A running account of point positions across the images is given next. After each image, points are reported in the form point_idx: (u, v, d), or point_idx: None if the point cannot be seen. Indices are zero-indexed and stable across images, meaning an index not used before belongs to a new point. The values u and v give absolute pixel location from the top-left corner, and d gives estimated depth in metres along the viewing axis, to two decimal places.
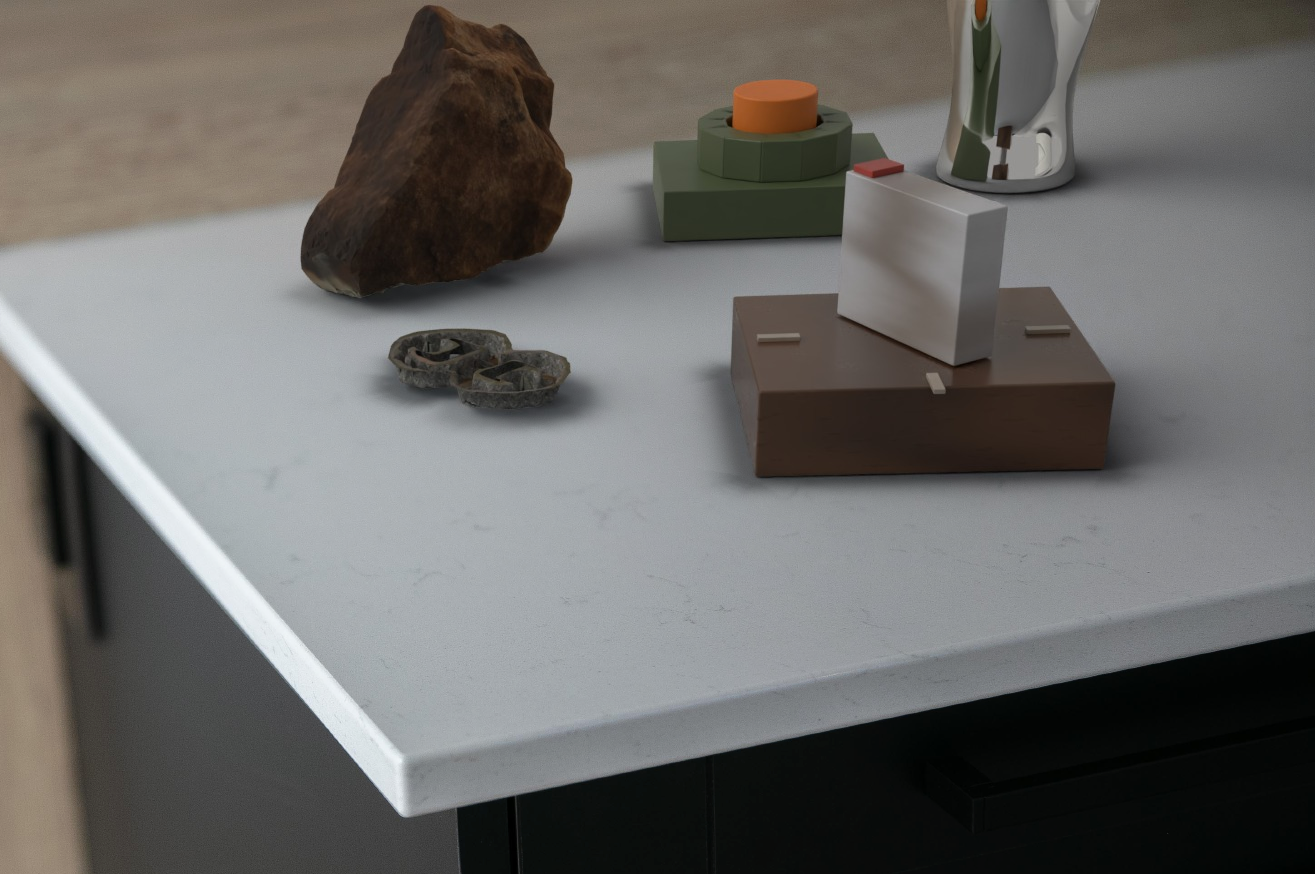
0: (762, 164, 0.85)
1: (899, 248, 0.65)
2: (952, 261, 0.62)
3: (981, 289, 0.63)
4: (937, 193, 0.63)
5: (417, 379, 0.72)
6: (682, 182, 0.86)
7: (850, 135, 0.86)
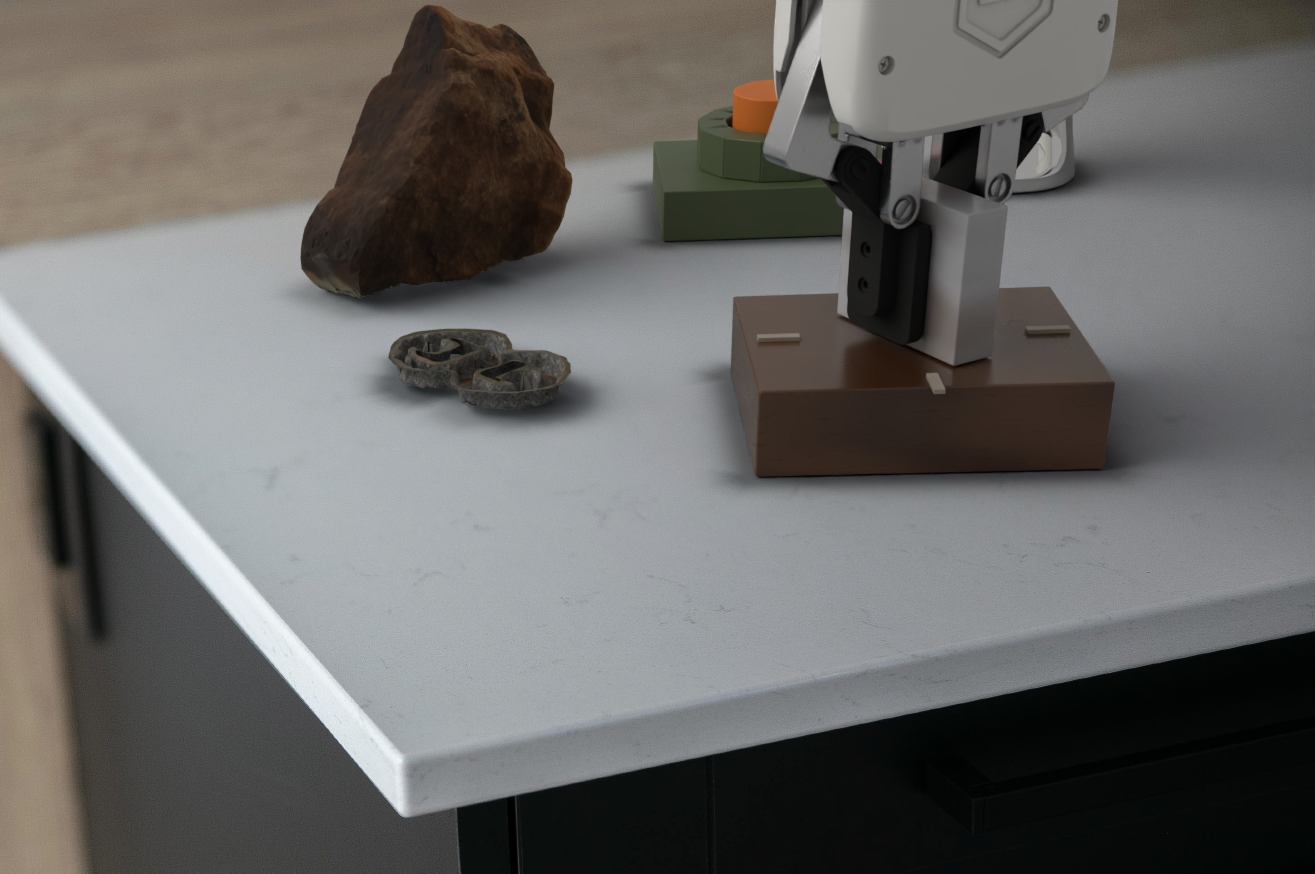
0: (762, 164, 0.85)
1: None
2: (952, 261, 0.62)
3: (981, 289, 0.63)
4: (937, 193, 0.63)
5: (417, 379, 0.72)
6: (682, 182, 0.86)
7: None
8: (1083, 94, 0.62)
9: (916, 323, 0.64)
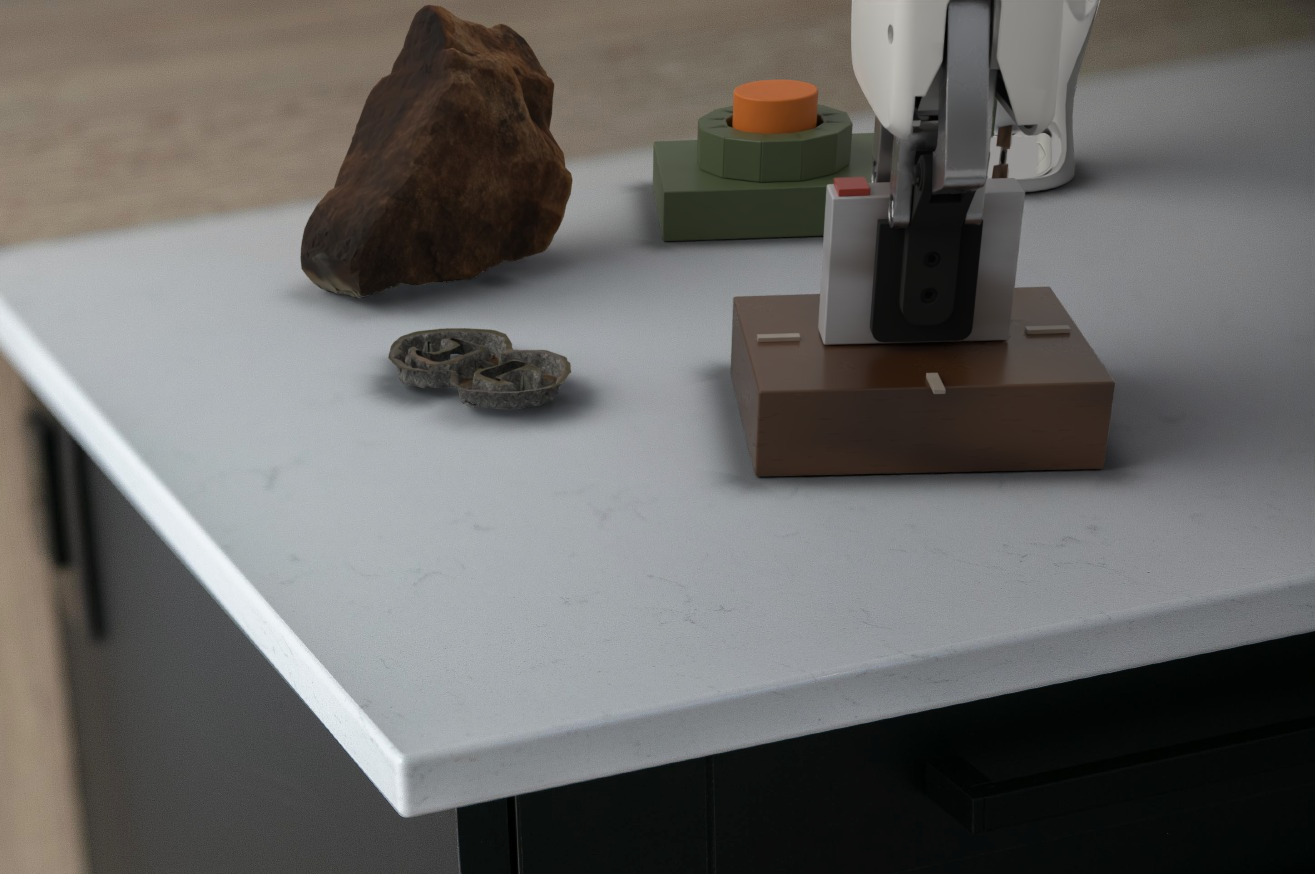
0: (762, 164, 0.85)
1: None
2: (1003, 242, 0.64)
3: None
4: None
5: (417, 379, 0.72)
6: (682, 182, 0.86)
7: (850, 135, 0.86)
8: None
9: None
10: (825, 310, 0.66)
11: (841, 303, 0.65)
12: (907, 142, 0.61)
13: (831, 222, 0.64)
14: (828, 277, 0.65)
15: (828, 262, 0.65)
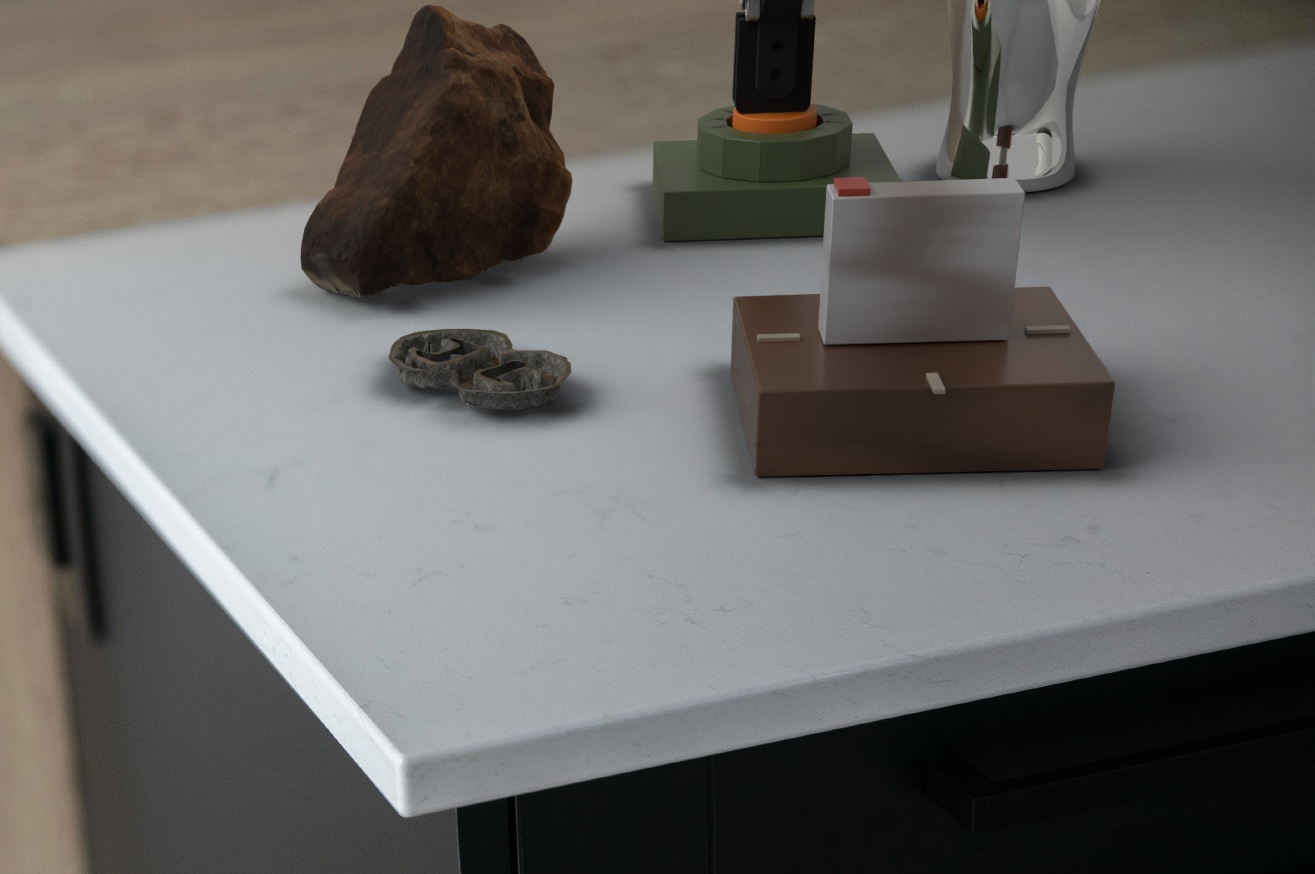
0: (762, 164, 0.85)
1: (923, 252, 0.64)
2: (1003, 242, 0.64)
3: None
4: (948, 187, 0.64)
5: (418, 379, 0.72)
6: (682, 182, 0.86)
7: (850, 135, 0.86)
8: None
9: (810, 92, 0.86)
10: (825, 310, 0.66)
11: (841, 303, 0.65)
12: None
13: (831, 222, 0.64)
14: (828, 277, 0.65)
15: (828, 262, 0.65)
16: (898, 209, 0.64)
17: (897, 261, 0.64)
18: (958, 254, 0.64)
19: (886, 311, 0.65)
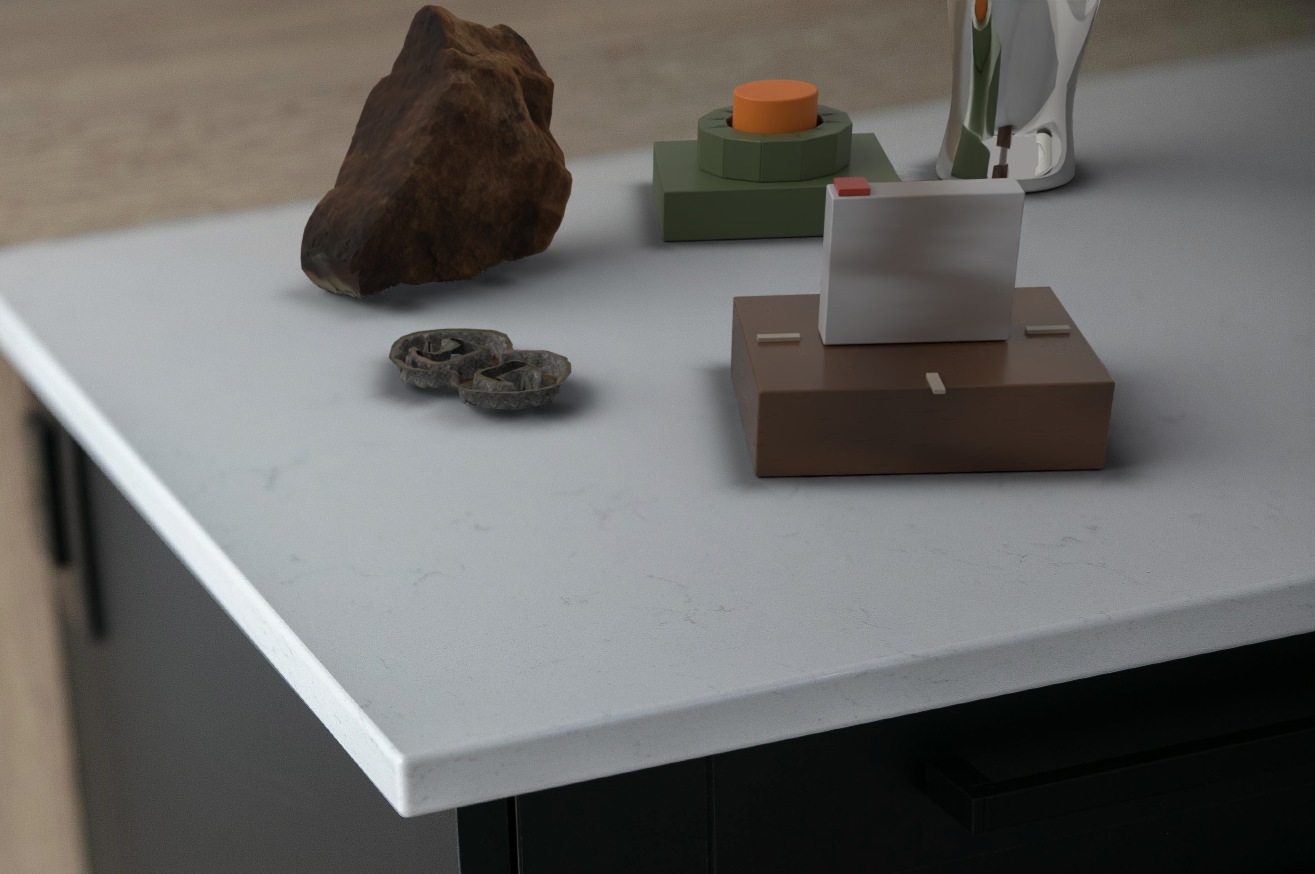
0: (762, 164, 0.85)
1: (923, 252, 0.64)
2: (1003, 242, 0.64)
3: None
4: (948, 187, 0.64)
5: (418, 379, 0.72)
6: (682, 182, 0.86)
7: (850, 135, 0.86)
8: None
9: None
10: (825, 310, 0.66)
11: (841, 303, 0.65)
12: None
13: (831, 222, 0.64)
14: (828, 277, 0.65)
15: (828, 262, 0.65)
16: (898, 209, 0.64)
17: (897, 261, 0.64)
18: (958, 254, 0.64)
19: (886, 311, 0.65)
